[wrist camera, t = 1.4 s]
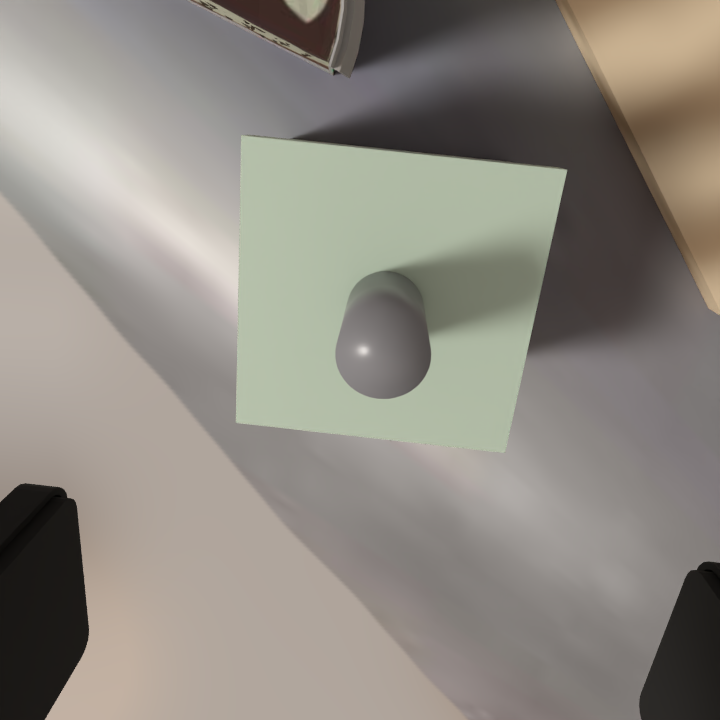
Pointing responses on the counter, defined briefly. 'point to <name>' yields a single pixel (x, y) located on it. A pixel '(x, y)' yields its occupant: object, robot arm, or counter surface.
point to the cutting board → (664, 109)
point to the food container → (300, 27)
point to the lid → (388, 289)
